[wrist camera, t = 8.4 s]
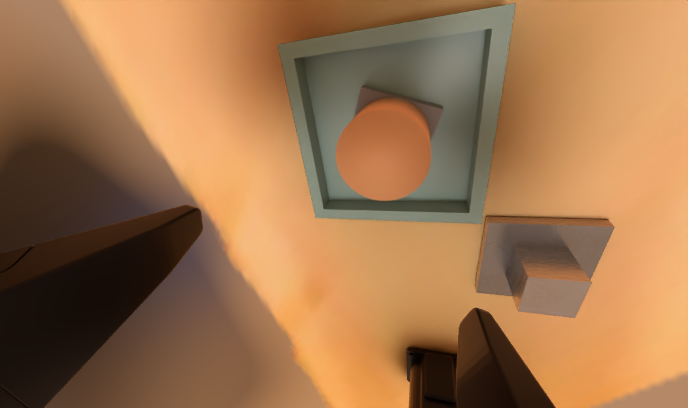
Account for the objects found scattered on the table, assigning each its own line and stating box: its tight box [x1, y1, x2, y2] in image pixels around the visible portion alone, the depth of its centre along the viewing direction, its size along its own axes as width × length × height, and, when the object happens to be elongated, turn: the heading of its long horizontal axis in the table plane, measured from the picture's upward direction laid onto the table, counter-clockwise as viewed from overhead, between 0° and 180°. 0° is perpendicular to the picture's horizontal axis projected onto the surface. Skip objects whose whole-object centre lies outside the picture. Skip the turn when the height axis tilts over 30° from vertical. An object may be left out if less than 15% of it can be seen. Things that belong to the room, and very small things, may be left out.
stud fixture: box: [475, 216, 614, 318], centre depth 18 cm, size 7×7×4 cm
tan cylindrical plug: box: [336, 85, 443, 201], centre depth 15 cm, size 5×5×4 cm
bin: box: [278, 3, 516, 224], centre depth 17 cm, size 12×12×2 cm
